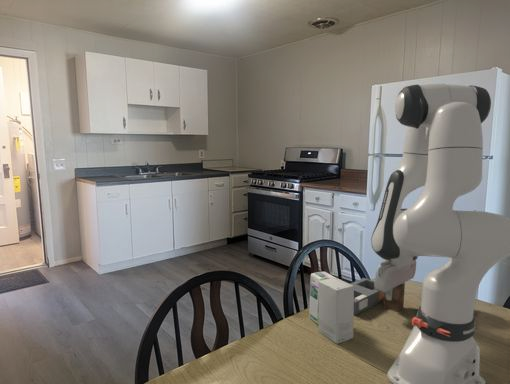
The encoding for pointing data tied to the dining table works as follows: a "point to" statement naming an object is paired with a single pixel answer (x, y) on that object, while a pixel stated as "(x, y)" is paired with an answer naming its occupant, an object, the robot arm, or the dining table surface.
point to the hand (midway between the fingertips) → (394, 297)
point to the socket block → (365, 295)
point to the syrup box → (316, 294)
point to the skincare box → (336, 309)
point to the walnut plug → (395, 298)
